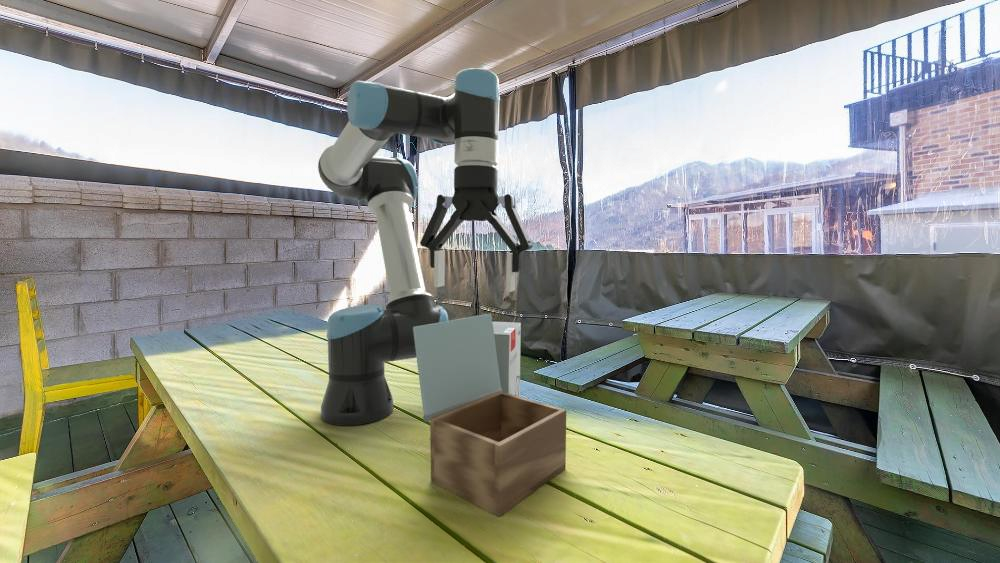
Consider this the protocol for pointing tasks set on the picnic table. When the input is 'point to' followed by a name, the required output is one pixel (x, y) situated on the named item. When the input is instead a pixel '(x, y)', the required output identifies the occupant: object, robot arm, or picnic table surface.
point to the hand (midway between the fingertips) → (474, 288)
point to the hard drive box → (508, 355)
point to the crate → (498, 450)
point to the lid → (456, 363)
